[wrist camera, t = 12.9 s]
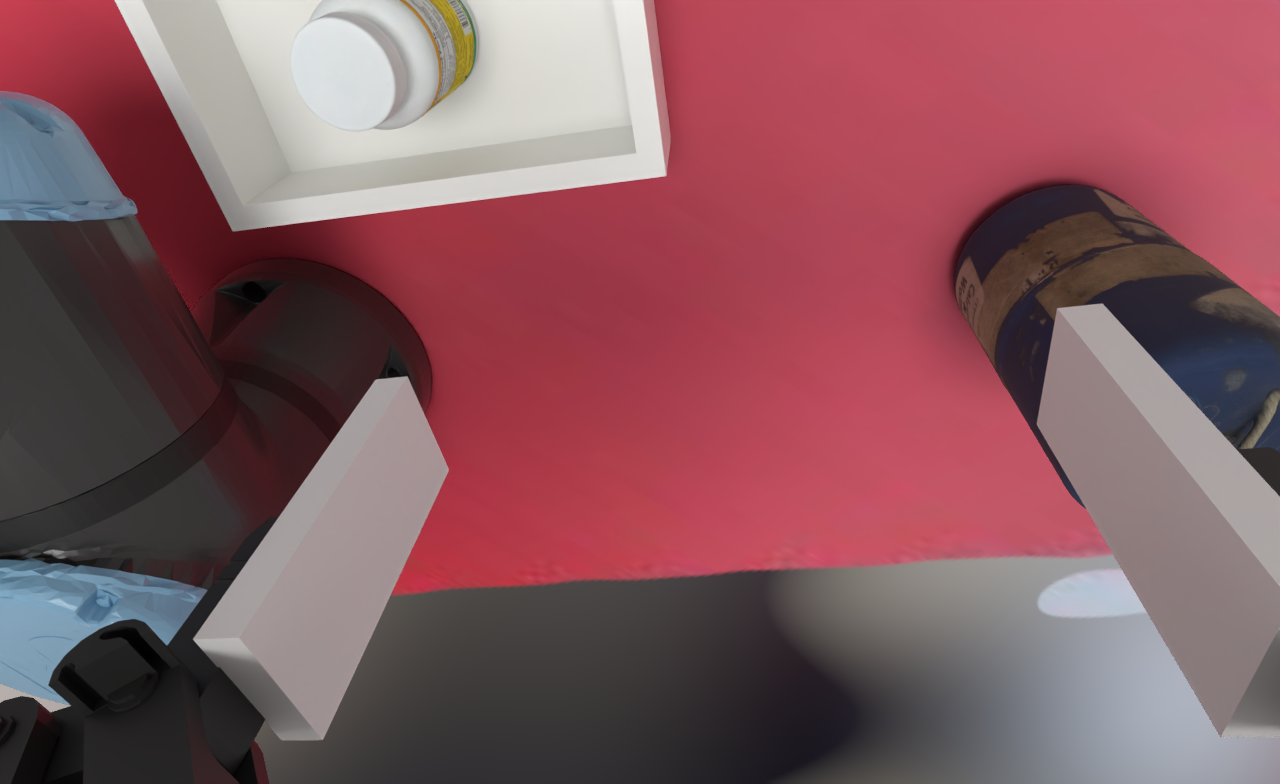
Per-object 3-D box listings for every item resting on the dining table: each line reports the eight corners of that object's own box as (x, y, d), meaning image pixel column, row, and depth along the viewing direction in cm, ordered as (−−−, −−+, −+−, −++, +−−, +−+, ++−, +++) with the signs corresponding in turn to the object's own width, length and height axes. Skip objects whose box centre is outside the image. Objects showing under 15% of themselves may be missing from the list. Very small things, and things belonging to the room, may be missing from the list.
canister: (1170, 232, 38) (1463, 446, 23) (1031, 357, 43) (1201, 598, 28) (1040, 140, 36) (1274, 313, 21) (909, 284, 41) (1026, 503, 26)
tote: (628, -206, 29) (613, -225, 24) (671, 138, 37) (666, 176, 32) (157, -107, 32) (60, -106, 27) (289, 190, 40) (232, 231, 35)
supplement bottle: (486, -12, 33) (419, 18, 25) (475, 105, 36) (412, 165, 28) (370, -44, 32) (264, -23, 24) (369, 77, 35) (275, 130, 27)
